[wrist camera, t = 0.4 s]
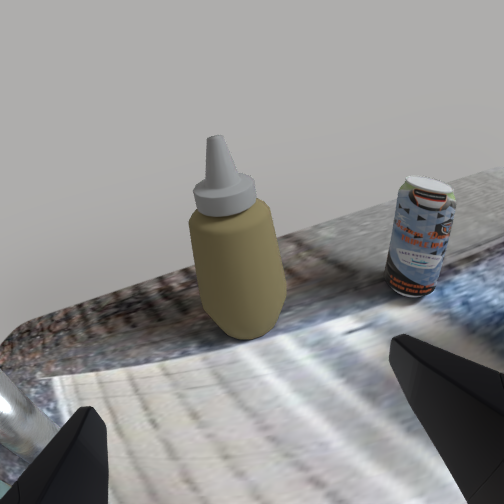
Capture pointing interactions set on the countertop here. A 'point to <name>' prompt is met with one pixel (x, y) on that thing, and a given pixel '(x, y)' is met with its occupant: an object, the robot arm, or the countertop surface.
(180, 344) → the countertop surface
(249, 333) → the squeeze bottle
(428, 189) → the beverage can
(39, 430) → the axle
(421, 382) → the robot arm
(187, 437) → the countertop surface
